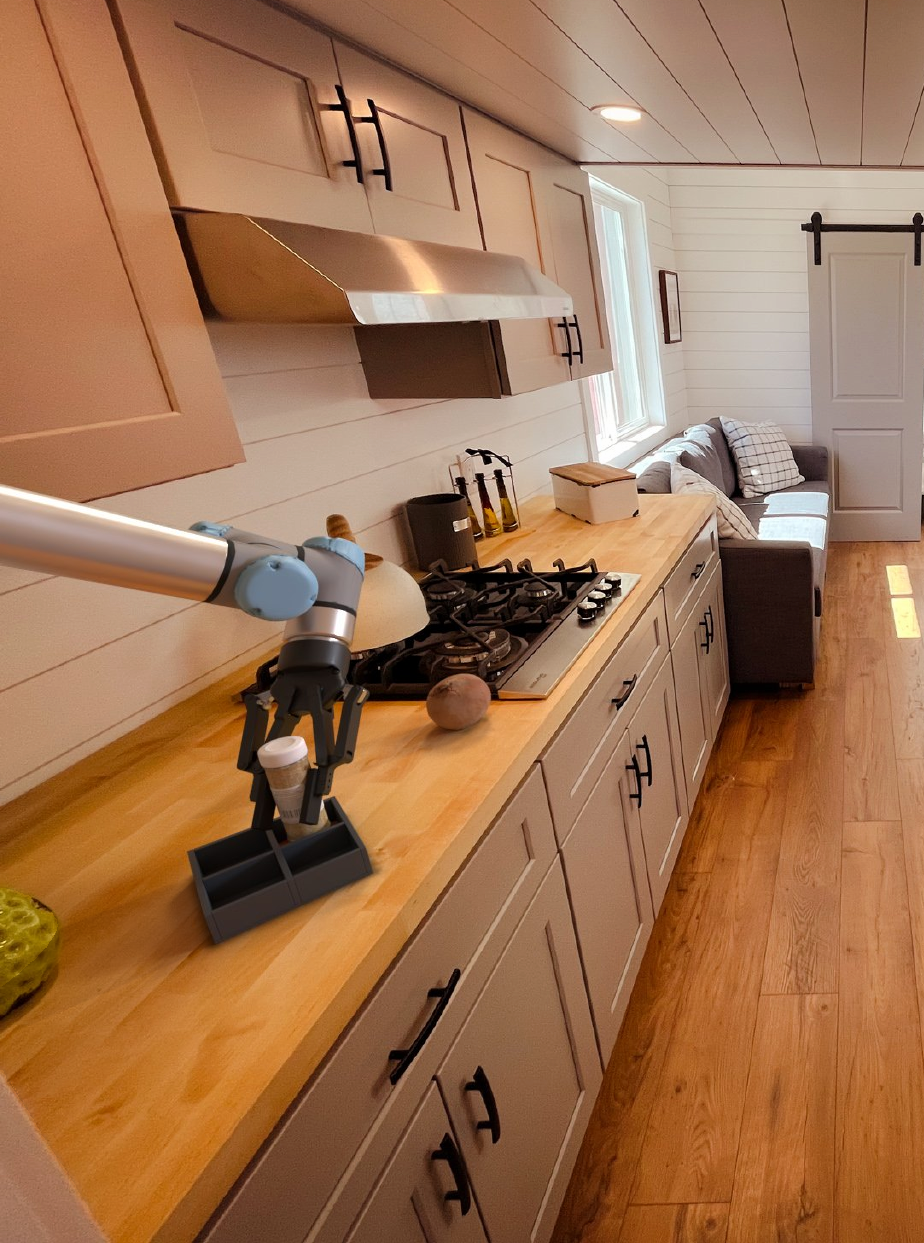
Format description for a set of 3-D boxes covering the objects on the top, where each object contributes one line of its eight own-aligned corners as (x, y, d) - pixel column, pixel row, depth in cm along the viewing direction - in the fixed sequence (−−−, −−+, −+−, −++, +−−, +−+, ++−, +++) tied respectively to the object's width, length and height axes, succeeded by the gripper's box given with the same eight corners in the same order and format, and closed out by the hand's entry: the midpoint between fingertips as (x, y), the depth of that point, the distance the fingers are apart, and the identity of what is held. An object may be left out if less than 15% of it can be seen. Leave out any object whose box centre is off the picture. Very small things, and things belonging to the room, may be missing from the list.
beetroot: (455, 751, 118) (421, 718, 110) (438, 716, 123) (405, 682, 116) (509, 717, 121) (480, 683, 114) (491, 685, 127) (462, 650, 119)
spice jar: (340, 822, 93) (313, 734, 88) (313, 846, 89) (284, 755, 84) (305, 821, 93) (276, 733, 88) (277, 845, 89) (246, 754, 84)
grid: (215, 945, 77) (204, 917, 76) (197, 877, 86) (186, 851, 85) (373, 873, 87) (366, 847, 86) (342, 819, 97) (334, 795, 95)
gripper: (401, 650, 100) (379, 820, 91) (260, 661, 97) (222, 839, 87) (376, 631, 94) (350, 813, 84) (223, 642, 90) (178, 833, 81)
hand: (285, 826), depth 86 cm, fingers closed on spice jar, 4 cm apart
